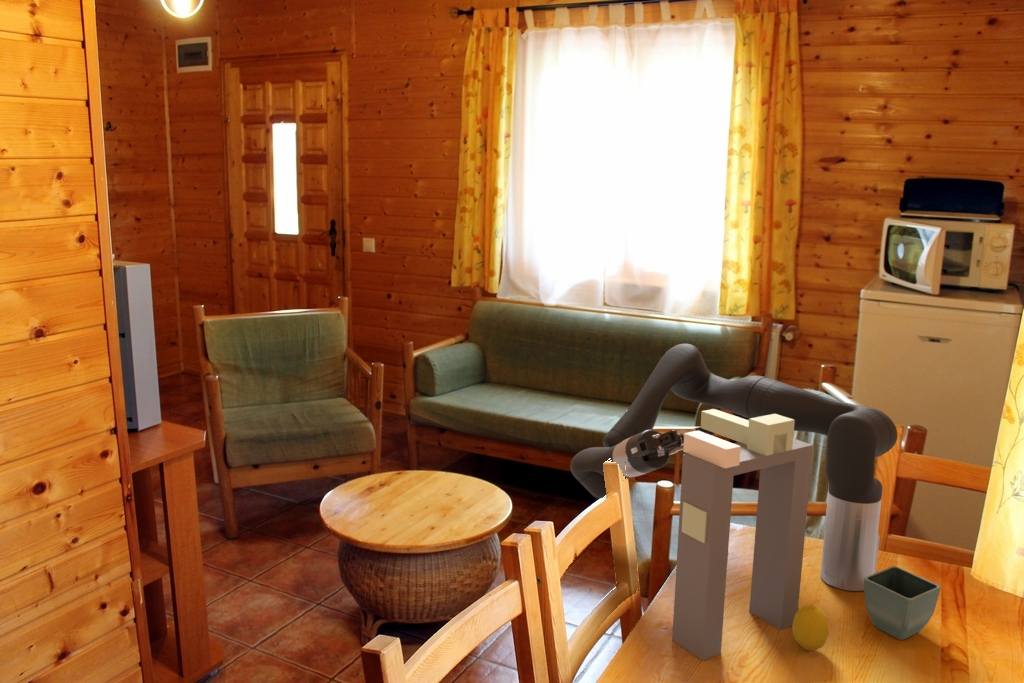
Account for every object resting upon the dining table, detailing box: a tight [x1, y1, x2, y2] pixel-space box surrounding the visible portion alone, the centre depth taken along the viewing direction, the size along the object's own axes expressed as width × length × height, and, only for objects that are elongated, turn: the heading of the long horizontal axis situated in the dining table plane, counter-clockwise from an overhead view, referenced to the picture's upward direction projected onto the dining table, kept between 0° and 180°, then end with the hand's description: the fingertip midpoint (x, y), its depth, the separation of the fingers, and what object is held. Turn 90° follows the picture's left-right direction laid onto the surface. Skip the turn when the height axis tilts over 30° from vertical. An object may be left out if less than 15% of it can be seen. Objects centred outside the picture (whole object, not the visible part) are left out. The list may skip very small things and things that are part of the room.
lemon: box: [791, 604, 830, 652], centre depth 135 cm, size 6×6×8 cm
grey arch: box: [671, 437, 814, 662], centre depth 138 cm, size 22×7×32 cm, turn 122°
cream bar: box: [682, 431, 741, 468], centre depth 130 cm, size 3×9×3 cm, turn 32°
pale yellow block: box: [700, 408, 795, 456], centre depth 139 cm, size 6×16×5 cm, turn 32°
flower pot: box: [863, 565, 942, 641], centre depth 141 cm, size 9×9×9 cm
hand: (694, 432), depth 148 cm, fingers open, 8 cm apart
